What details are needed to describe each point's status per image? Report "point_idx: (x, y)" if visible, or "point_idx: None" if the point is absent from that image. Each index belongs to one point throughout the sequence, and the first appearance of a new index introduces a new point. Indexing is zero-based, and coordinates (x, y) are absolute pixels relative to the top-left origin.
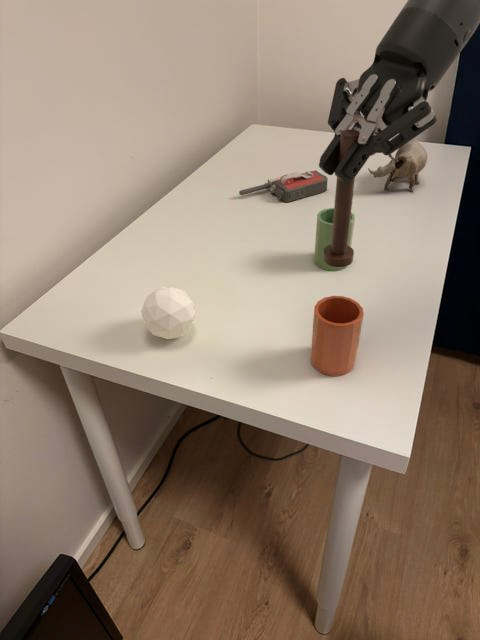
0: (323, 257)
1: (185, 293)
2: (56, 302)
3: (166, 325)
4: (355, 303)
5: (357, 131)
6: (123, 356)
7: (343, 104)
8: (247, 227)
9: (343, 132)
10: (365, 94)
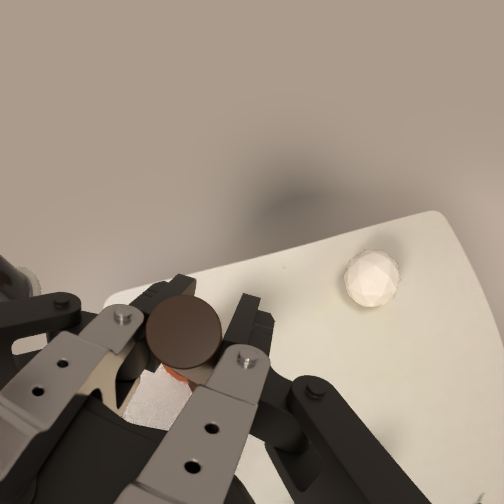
0: None
1: (377, 292)
2: (452, 250)
3: (354, 257)
4: (179, 376)
5: (164, 358)
6: (362, 240)
7: (331, 481)
8: (438, 480)
9: (207, 317)
10: (164, 473)
